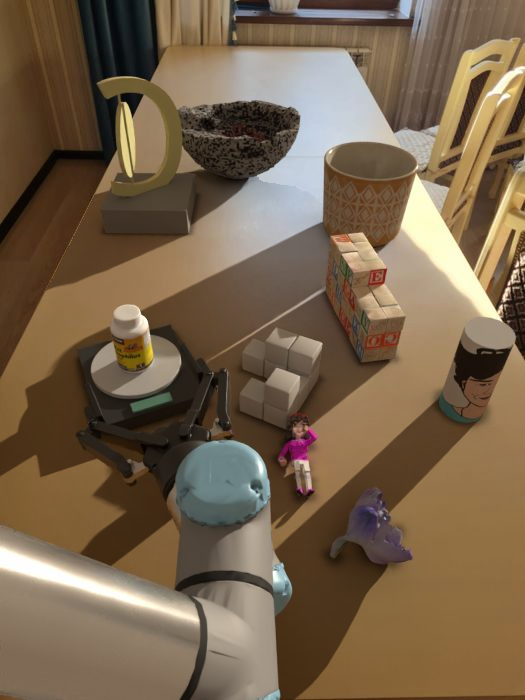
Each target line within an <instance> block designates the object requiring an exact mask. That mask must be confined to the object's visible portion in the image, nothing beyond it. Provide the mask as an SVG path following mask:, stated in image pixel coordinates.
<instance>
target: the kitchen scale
mask: <svg viewBox="0 0 525 700" xmlns="http://www.w3.org/2000/svg"><path fill="white" fill-rule="evenodd" d="M149 332H150V338H151V345H152V351H153V363H152V365H151V366H150V367H149V368H148V369H147V370H145V371H143V372H140V373H127V372H125V371H123V370H122V369H121V368H120V367H119V365H118V362H117V357H116V353H115V349H114V344H113V340H112V339H110V340H105V341H102V342H99V343H93V344H91V345H87V346H83V347H80V348H76V352H77V355H78V358H79V362H80V365H81V368H82V373H83V376H84V379H85V382H86V383H88V382H89V383H90V385H91V388H92V390H93V392H94V394H95V396H96V399H97V401H98V404H99V406H100V409H101V411H102V414H103V416H104V419H105V421H106V423H107V424H110V425H114V426H117V427H121V428H124V429H128V430H132V429H135V428H138V427H142V426H144V425H147V424H150V423H154V422H156V421H160V420H163V419H167V418H169V417H170V418H171V417H172V416H176V415H179V414H182V413H185V412H186V413H187V411H188V409H190V408H191V405H192V403H193V400H194V398H195V395H196V393H197V390H198V388H199V383H198V382H197V380H196V379H195V377H194V375H193V374H192V372H191V370H190V369H189V367H188V365H187V364H186V362H185V361H184V359H183V356H182V352H181V349H180V344H181V342H180V340H179V338H178V336H177V334H176V332H175V330H174V329H173V326H172V324H167V325H162V326H159V327H155V328H151V329H149ZM86 383H85V384H86Z"/></svg>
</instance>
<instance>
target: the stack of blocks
mask: <svg viewBox="0 0 525 700" xmlns="http://www.w3.org/2000/svg"><path fill="white" fill-rule="evenodd" d="M387 271H388V267H387V266H386V264H385V263H384V261H383V260H382V259H381V258H380V257H379V255H378V254H377V252H376V250H375V249H374V247H372V246H371V245H370V243H369V242H368V240H367V238H366V237H365V235H364V234H363V233H353V234H347V235H346V234H343V235H335V236H330V235H329V245H328V255H327V270H326V278H325V293H326V295H327V297H328V299H329V302H330V303H331V306H332V308H333V310H334V313H335V314H336V317H337V318H338V319H339V321H340V323H341V325H342V327H343V329H344V330H345V333H346V335H347V336H348V338H349V341H350V343H351V346H352V347H353V350H354V351H355V354H356V355H357V357H358V360H359V361H360V363H369V362H374V361H384V360H391V359H395V358H396V354H397V351H398V345H399V344H400V340H401V336H402V335H401V334H402V331H403V329H404V325H405V321H406V316H407V315H406V313H405V312H404V310H403V309H402V308H401V306H400V304H399V303H398V302H397V300H396V298H395V297H394V295H393V294H392V292H391V291H390V289H389V288H388V286H387V285H386V284H385V282H386V277H387Z"/></svg>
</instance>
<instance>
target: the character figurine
mask: <svg viewBox="0 0 525 700" xmlns="http://www.w3.org/2000/svg"><path fill="white" fill-rule="evenodd" d="M318 438H319V436H318V435H317V434H316V433H315V432H314V431H313V429H312V428H311V427H310V420H309V416H307V414H306V413H305V414H304V413H303V412H300V413H299V412H297V414H293V415H292V416H290V421H289V424H288V426H287V429H286V435H285V434H284V436H283V441H284V442H285V443H284V446H283V447H282V450H281V452H280V453H279V455H278V457H277V461H278V463H279V464H280V467H284V466H285V467H286V466H287V463H288V461H287V458H285V456H286V455H287V452H288V451H289V454H290V455H291V456H290V460H289V465H291V467H292V468H294V473H295V480H296V486H297V488H296V489H295V493H296V494H297V495H298V497H303V496H304V491H303V486H302V480H301V475H302V476H303V477H304V486H305V496H306V497H309V498H310V497H312V496H313V495H314V493H315V491H316V490H315V488H312V487H313V486H312V475H311V468H310V462H309V458H308V455H307V454H308V452H309V447H310V446H311V445H312V444H313V443H314V442H316V441H317V440H318Z"/></svg>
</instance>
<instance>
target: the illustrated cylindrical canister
mask: <svg viewBox="0 0 525 700" xmlns="http://www.w3.org/2000/svg"><path fill="white" fill-rule="evenodd" d="M516 339H517V337H516V333H515V331H514V330H513V328H512V327H510V326H509V325H508V324H507V323H505V322H504V321H501V320H499V319H496V318H493V317H488V316H476V317H473V318H470V319H469V320H468V321H466V322H465V325H464V327H463V330H462V332H461V335H460V337H459V341H458V344H457V347H456V350H455V353H454V356H453V359H452V362H451V365H450V368H449V369H448V373H447V375H446V379H445V381H444V385H443V387H442V390H441V393H440V396H439V399H438V406H439V408H440V409H441V411H442V412H443V413H444V414H445V415H446V416H447V417H448V418H450V419H451V420H454V421H457V422H459V423H465V424H467V423H468V424H469V423H475V422H477V421H479V420H481V418H482V417H483V416H484V413H485V412H486V409H487V407H488V405H489V403H490V400H491V397H492V396H493V393H494V391H495V388H496V386H497V384H498V381H499V379H500V377H501V375H502V372H503V371H504V369H505V365H506V363H507V362H508V359H509V356H510V354H511V352H512V350H513V347H514V345H515V342H516Z"/></svg>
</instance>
